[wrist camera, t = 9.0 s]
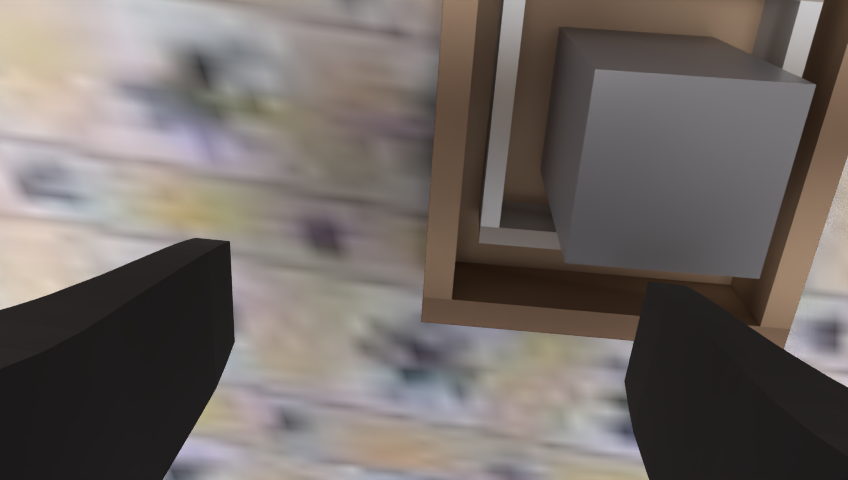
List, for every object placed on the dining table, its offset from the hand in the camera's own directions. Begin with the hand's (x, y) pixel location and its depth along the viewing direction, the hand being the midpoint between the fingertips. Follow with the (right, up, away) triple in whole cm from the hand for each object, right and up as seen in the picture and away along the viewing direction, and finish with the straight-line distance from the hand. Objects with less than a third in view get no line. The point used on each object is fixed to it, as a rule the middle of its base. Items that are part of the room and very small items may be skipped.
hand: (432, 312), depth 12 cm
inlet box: (+5, +5, +8) cm, 11 cm away
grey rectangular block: (+5, +5, +7) cm, 10 cm away
